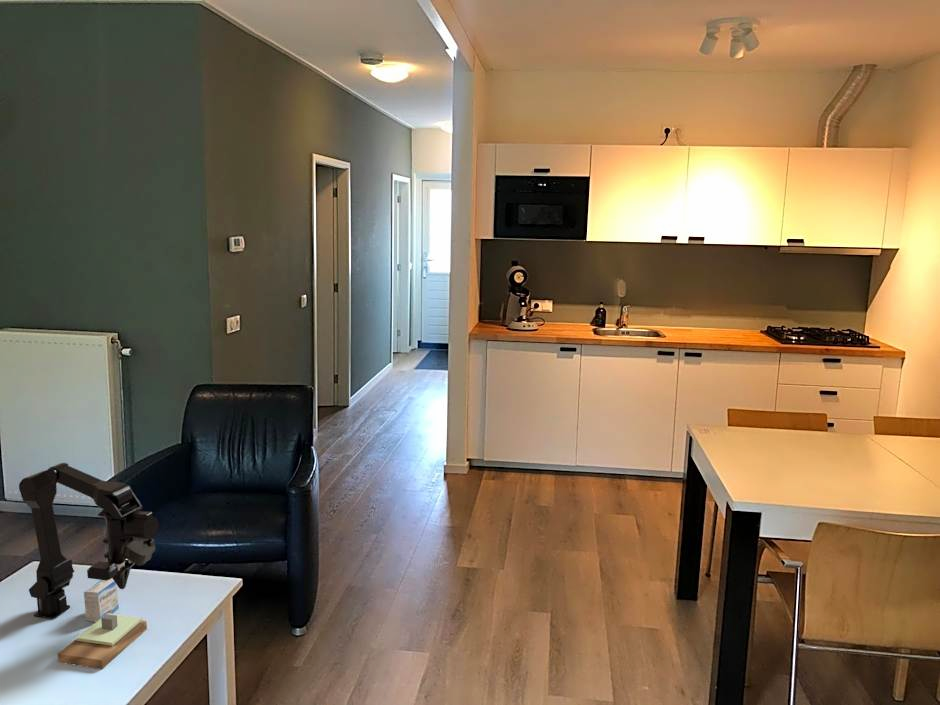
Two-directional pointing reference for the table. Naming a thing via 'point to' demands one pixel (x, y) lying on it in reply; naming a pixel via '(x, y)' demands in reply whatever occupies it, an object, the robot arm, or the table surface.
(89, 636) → the cover
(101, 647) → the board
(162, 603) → the table surface
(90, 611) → the medicine box
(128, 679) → the table surface
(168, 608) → the table surface
